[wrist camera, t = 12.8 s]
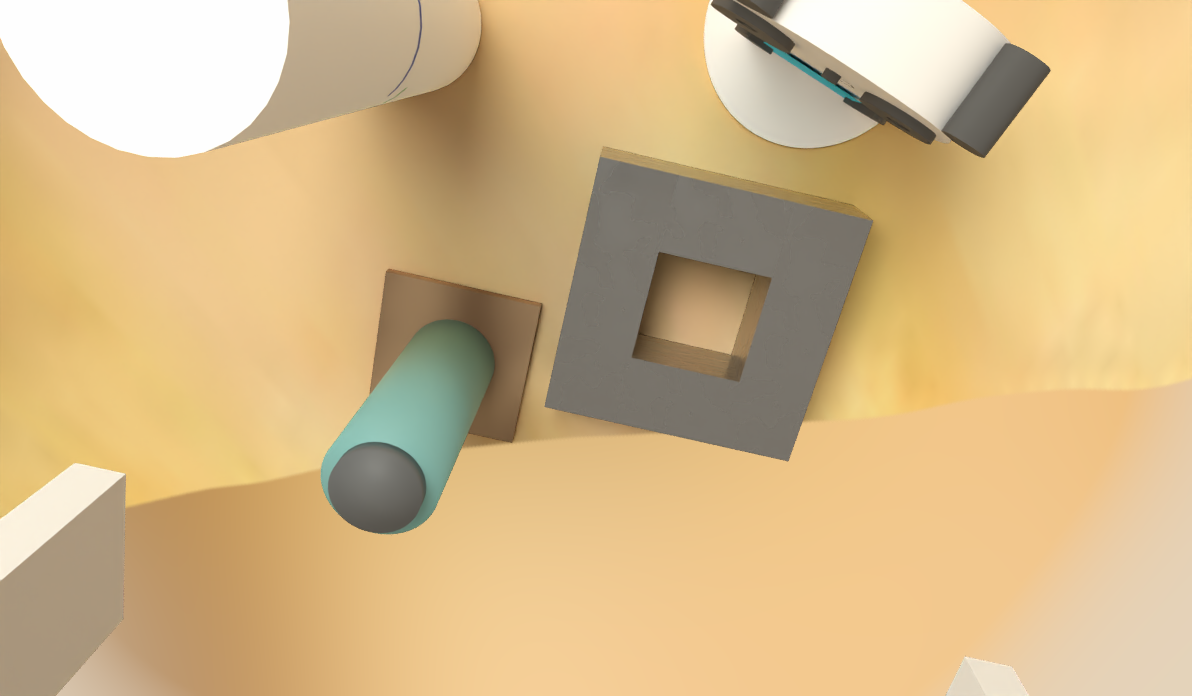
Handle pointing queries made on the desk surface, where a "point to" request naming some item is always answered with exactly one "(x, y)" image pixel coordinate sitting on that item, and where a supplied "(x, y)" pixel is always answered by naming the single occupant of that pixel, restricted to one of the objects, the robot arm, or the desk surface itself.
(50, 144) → the desk surface
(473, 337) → the teal cylinder
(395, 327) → the pad
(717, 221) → the housing
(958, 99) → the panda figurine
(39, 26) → the cylindrical container
